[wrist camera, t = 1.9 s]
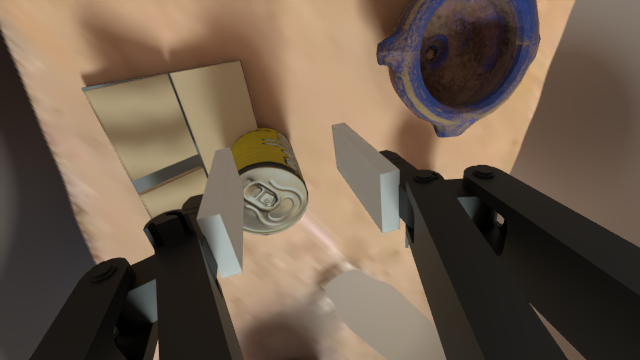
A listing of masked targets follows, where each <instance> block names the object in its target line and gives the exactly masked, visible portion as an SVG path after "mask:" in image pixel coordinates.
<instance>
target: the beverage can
mask: <svg viewBox="0 0 640 360" xmlns="http://www.w3.org/2000/svg"><path fill="white" fill-rule="evenodd" d="M257 129H258V130H254V131H250V132H247V133H246V134H244V135H242V136H241V137H239V139H238V140H237V141H236V142H235V143H234V145H233V147H232V149H231V152H232V155H233V158H234V161H235V165H236V168H237V171H238V174H239V177H240V180H241V183H242V186H243V190H244V206H243V231H245V232H248V233H251V234H256V235H271V234H276V233H279V232H282V231H285V230H287V229H288V228H290V227H292V226H293V225H294V224H295V223H296V222H298V221H299V220H300V219H301V217H302V215H303V214H304V212H305V211H306V207H307V204H308V191H307V188H306V185H305V182H304V179H303V176H302V174H301V171H300V168H299V165H298V163H297V160H296V157H295V155H294V152H293V149H292V146H291V144H290V143H289V141H288V140H287V138H286V137H285V136H284V135H282V134H281V133H280V132H278V131H276V130H274V129H270V128H265V127H259V128H257Z"/></svg>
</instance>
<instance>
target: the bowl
mask: <svg viewBox="0 0 640 360" xmlns="http://www.w3.org/2000/svg"><path fill="white" fill-rule="evenodd" d="M540 39H541V38H540V34H539V18H538V10H537V1H536V0H411V1H410V2H409V3H408V5H407V6H406V8H405V9H404V11H403V12H402V13H401V15H400V16H399V18H398V20H397V22H396V24H395V26H394V29H393V33H392V34H391V35H390V36H389V37H388V38H387V39H385V40H383V41H382V42H380V43H379V44H378V47H377V53H376V55H377V61H378V64H379V65H386V66H388V67H389V76H390V80H391V83H392V85H393V88H394V90H395V92H396V93H397V94H398V96H399V97H400V99H401V100H402V101H403V103H405V105H406V106H407V107H408V108H409V109H410V110H411V111H412V112H413V113H414V114H415V115H417V116H418V117H419V118H421V119H424V120H426V121H429V122H431V123H432V124H433V127H434V129H435V132H436V134H437V136H438V137H454V136H459V135H461V134H462V133H463V132H464V131H465V130H466V129H468V128H469V127H470V126H471V125H472V124H474V123H475V122H476V121H478V120H480V119H482V118H483V117H485V116H487V115H489V114H491V113H493V112H494V111H495V110H496V109H497V108H499V107H500V106H501V105H502V104H503V103H504V102H505V101H507V100H508V99H509V97H510V96H511V95H512V93H513V92H514V91H515V90H516V88H517V87H518V86H519V84H520V83H521V81H522V79H523V77H524V75H525V73H526V72H527V70H528V68H529V66H530V64H531V63H532V61H533V60H534V58H535V57H536V54H537V50H538V47H539V43H540ZM430 47H432V48H433V49H437V52H436V55H435V57H434V58H433V59H431V60H429V59H428V58H426V55H427V52H428V50H429V48H430Z"/></svg>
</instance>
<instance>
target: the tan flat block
mask: <svg viewBox="0 0 640 360" xmlns="http://www.w3.org/2000/svg"><path fill="white" fill-rule="evenodd" d="M83 92H84V94H85V96H86V98H87V100H88V102H89V103H90V105H91V107H92V109H93V111H94V113H95V115H96V117H97V118H98V120H99V122H100V124H101V126H102V128H103V130H104V131H105V133H106V135H107V137H108V139H109V141H110V143H111V145H112V146H113V148H114V150H115V152H116V154H117V156H118V158H119V159H120V161H121V163H122V165H123V167H124V169H125V171H126V173H127V174H128V176H129V178H130V179H131V180H132V181H134V180H136V179H139V178H141V177H144V176H146V175H149V174H151V173H153V172H156V171H158V170H161V169H163V168H165V167H168V166H170V165H173V164H175V163H177V162H180V161H182V160H185V159H187V158H189V157H192V156H194V155H197V154H198V153H197V150H196V148H195V145H194V143H193V140H192V137H191V135H190V132H189V129H188V127H187V124H186V122H185V119H184V116H183V114H182V111H181V109H180V106H179V103H178V101H177V98H176V96H175V93H174V90H173V88H172V85H171V83H170V80H169V77H168V75H167V74H162V75H157V76H153V77H148V78H143V79H138V80H134V81H129V82H124V83H119V84H115V85H110V86H105V87H100V88H96V89H91V90H86V91H83Z"/></svg>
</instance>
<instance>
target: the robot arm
mask: <svg viewBox="0 0 640 360" xmlns="http://www.w3.org/2000/svg"><path fill="white" fill-rule="evenodd" d="M332 133H333V140H334V148H335V156H336V164H337V169H338V170H339V172H340V173H341V175H342V176H343V178H344V179H345V180H346V182H347V183H348V185H349V186H350V188H351V189H352V190H353V192H354V193H355V195H356V196H357V198H358V199H359V200H360V202H361V203H362V205H363V206H364V208H365V209H366V210H367V212H368V213H369V215H370V216H371V218H372V219H373V220H374V222H375V223H376V225H377V226H378V228H379V229H380V230H381V232H382V233H386V232H390V231H393V230H397V229H400V218H401V219H402V220H403V221H404V222H405V223H406V248H408V245H410V248H411V251H412V254H413V257H414V261H415V264H416V267H417V270H418V273H419V276H420V279H421V282H422V285H423V288H424V291H425V294H426V297H427V301H428V304H429V307H430V310H431V313H432V316H433V319H434V322H435V325H436V328H437V331H438V334H439V337H440V341H441V343H442V347H443V349H444V353H445V356H446V359H447V360H568V359H567V357H566V356H565V355H564V353H563V352H562V350H561V349H560V347H559V346H558V344H557V343H556V341H555V340H554V339H553V337H552V336H551V334H550V333H549V331H548V330H547V328H546V327H545V326H544V324H543V322H542V321H541V320H540V318H539V317H538V315H537V314H536V312H535V311H534V309H533V308H532V306H533V307H534V308H535V309H536V310H537V311H538V312H539V313H540V314H542V316H543V317H544V318H545V319H546V320H547V321H548V322H549V323H550V324H551V325H552V326H553V327H554V328H555V329H556V330H557V331H559V333H560V334H561V335H562V336H563V337H564V338H565V339H566V340H567V341H568V342H569V343H570V344H571V345H572V346H573V347H575V349H576V350H577V351H578V352H579V353H580V354H581V355H582V356H583V357H584V358H585V359H586V360H640V248H639V247H638V246H636V245H634V244H632V243H631V242H628V241H627V240H625V239H623V238H621V237H620V236H618V235H616V234H614V233H613V232H611V231H609V230H607V229H606V228H604V227H601V226H600V225H598V224H597V223H595V222H593V221H591V220H589V219H588V218H586V217H584V216H582V215H580V214H579V213H577V212H575V211H573V210H572V209H570V208H568V207H566V206H564V205H562V204H561V203H559V202H557V201H555V200H554V199H552V198H550V197H548V196H547V195H545V194H543V193H541V192H539V191H538V190H536V189H534V188H532V187H530V186H529V185H527V184H525V183H523V182H521V181H520V180H518V179H516V178H514V177H513V176H511V175H509V174H507V173H505V172H504V171H502V170H500V169H497V168H495V167H491V166H488V165H477V166H471V167H468V168H466V169H465V170H464V175H463V179H449V180H444V178H443V177H442V176H441V175H440V174H439V173H437V172H435V171H431V170H417V169H416V168H415V167H414V166H412V165H411V164H410V163H408V162H406V160H404V159H403V158H401V157H400V156H399V155H398V154H397V153H395V152H392V151H388V150H385V151H380V152H378V151H377V150H376V149H375V148H373V147H372V146H371V145H370V144H369V143H368V142H366V141H365V140H364V139H363V138H362V137H361V136H359V135H358V134H357V133H356V132H355V131H354V130H352V129H351V128H350V127H349V126H348V125H347V124H345V123H340V124H336V125H332ZM243 206H244V190H243V186H242V183H241V180H240V177H239V174H238V171H237V168H236V165H235V161H234V158H233V155H232V152H231V149H230V147H228V148H224V149H219V150H216V151H215V154H214V158H213V161H212V165H211V169H210V172H209V176H208V180H207V183H206V187H205V190H204V194H200V195H196V196H191V197H190V198H189V199H188V200H187V201H186V202H185V203H184V204H183V206H182V209H176V210H170V211H167V212H164V213H162V214H159V215H157V216H155V217H154V218H152V219H151V220H150V221H149V222H148V223H147V224H146V225H145V227H144V229H143V230H144V232H145V234H146V236H147V237H148V239H149V241H150V243H151V244H152V246H153V248H154V250H155V254H154V255H152V256H150V257H148V258H146V259H144V260H142V261H140V262H137V263H135V264H133V265H131V266H130V264H129V262H128V261H127V260H126V259H125V258H120V257H119V258H113V259H109V260H107V261H103V262H101V263H99V264H97V265H96V266H94V267H93V268H92V269H91V270H89V271H88V272H87V273H86V274H85V275H84V276H83V277H82V278H81V279H80V280H79V282H78V283H77V285H76V287H75V288H74V290H73V291H72V293H71V294H70V296H69V298H68V299H67V301H66V302H65V304H64V306H63V307H62V309H61V310H60V312H59V313H58V315H57V317H56V318H55V320H54V321H53V323H52V324H51V326H50V328H49V329H48V331H47V332H46V334H45V335H44V337H43V339H42V340H41V342H40V343H39V345H38V347H37V348H36V350H35V351H34V353H33V354H32V356H31V358H30V359H29V360H153V357H154V353H155V349H156V345H157V341H158V344H159V360H244V358H243V355H242V352H241V349H240V346H239V342H238V339H237V336H236V333H235V330H234V327H233V324H232V321H231V318H230V314H229V311H228V308H227V305H226V302H225V299H224V296H223V293H222V289H221V286H220V284H219V282H218V280H217V277H216V276H217V268H218V270H219V272H220V274H221V277H222V278H224V277H227V276H231V275H235V274H238V273H242V263H243ZM498 213H499V214H500V215H501V216H502V217H503V218H504V223H503V225H502V224H500V223H499V222H498V221H496V220H497V215H498ZM529 303H530V304H532V306H531V305H530V304H529Z"/></svg>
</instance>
